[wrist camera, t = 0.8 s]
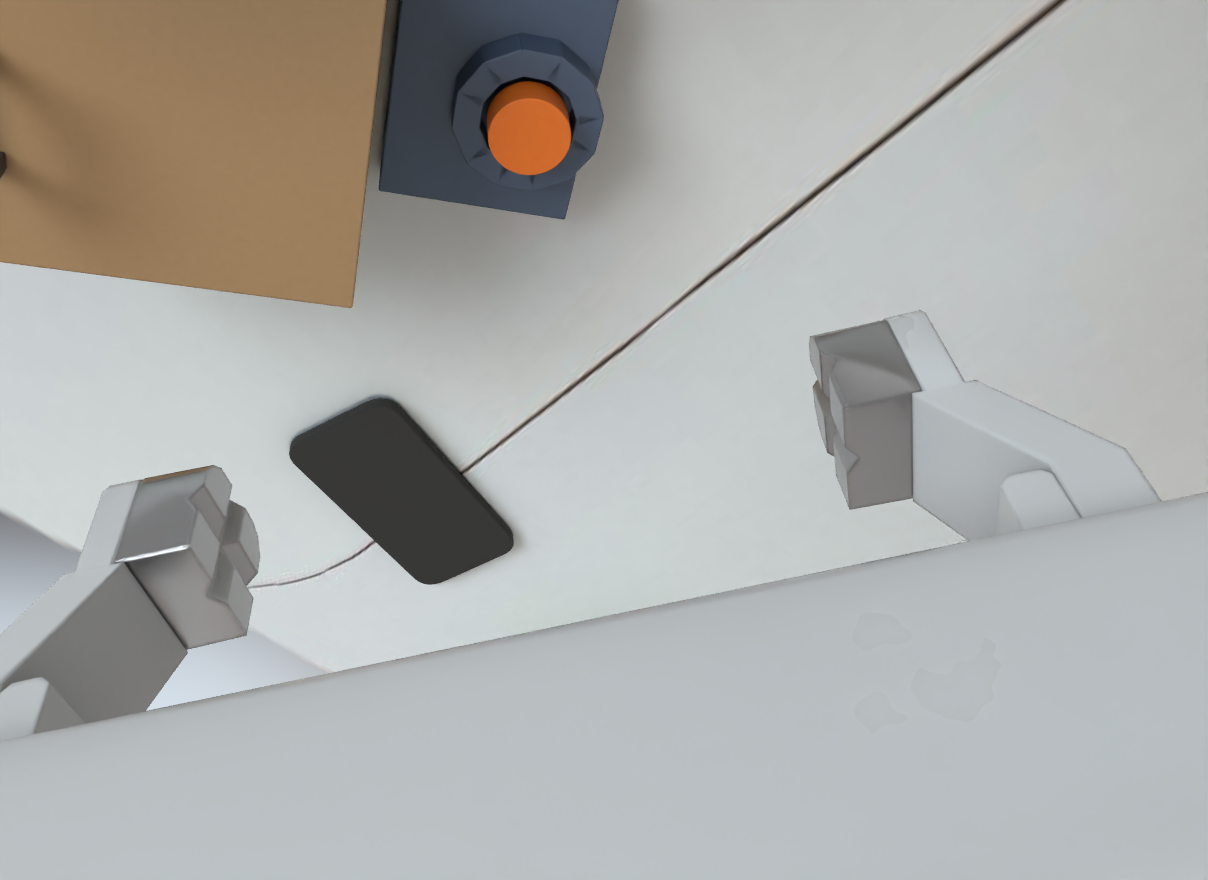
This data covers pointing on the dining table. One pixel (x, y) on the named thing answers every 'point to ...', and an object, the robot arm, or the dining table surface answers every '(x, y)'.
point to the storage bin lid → (190, 140)
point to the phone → (401, 491)
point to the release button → (528, 128)
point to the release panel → (489, 96)
